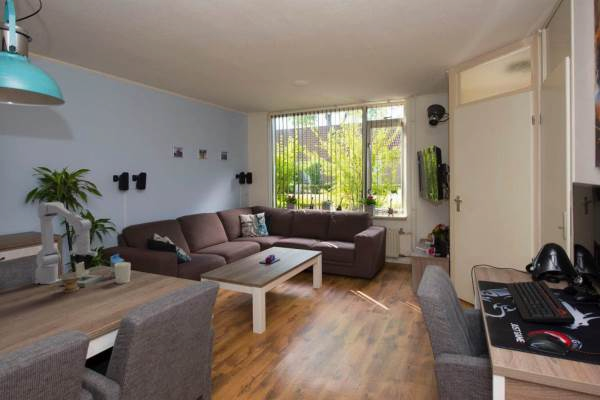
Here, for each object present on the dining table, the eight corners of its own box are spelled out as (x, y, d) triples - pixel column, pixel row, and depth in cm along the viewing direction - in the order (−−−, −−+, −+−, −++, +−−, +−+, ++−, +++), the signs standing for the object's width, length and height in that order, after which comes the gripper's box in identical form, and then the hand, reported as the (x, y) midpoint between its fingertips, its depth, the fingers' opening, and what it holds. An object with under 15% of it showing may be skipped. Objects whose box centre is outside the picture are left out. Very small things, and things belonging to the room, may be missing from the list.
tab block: (76, 275, 174) (75, 264, 174) (83, 272, 179) (83, 261, 179) (81, 276, 174) (81, 264, 173) (89, 273, 179) (88, 261, 178)
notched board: (61, 285, 182) (61, 281, 182) (81, 277, 196) (81, 274, 196) (85, 287, 181) (85, 283, 180) (104, 279, 194) (103, 275, 194)
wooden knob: (59, 292, 172) (58, 280, 172) (70, 287, 179) (70, 276, 179) (71, 293, 171) (71, 281, 171) (82, 288, 178) (82, 277, 178)
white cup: (126, 284, 187) (125, 266, 186) (111, 283, 187) (111, 265, 186) (133, 279, 195) (133, 262, 194) (119, 279, 195) (119, 262, 194)
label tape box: (117, 277, 198) (117, 256, 197) (110, 277, 198) (110, 256, 197) (125, 273, 206) (125, 253, 205) (118, 273, 206) (118, 253, 205)
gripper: (64, 243, 173) (64, 270, 174) (90, 245, 171) (90, 272, 172) (75, 241, 180) (75, 266, 181) (100, 242, 178) (100, 268, 179)
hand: (83, 269), depth 177 cm, fingers closed on tab block, 3 cm apart
